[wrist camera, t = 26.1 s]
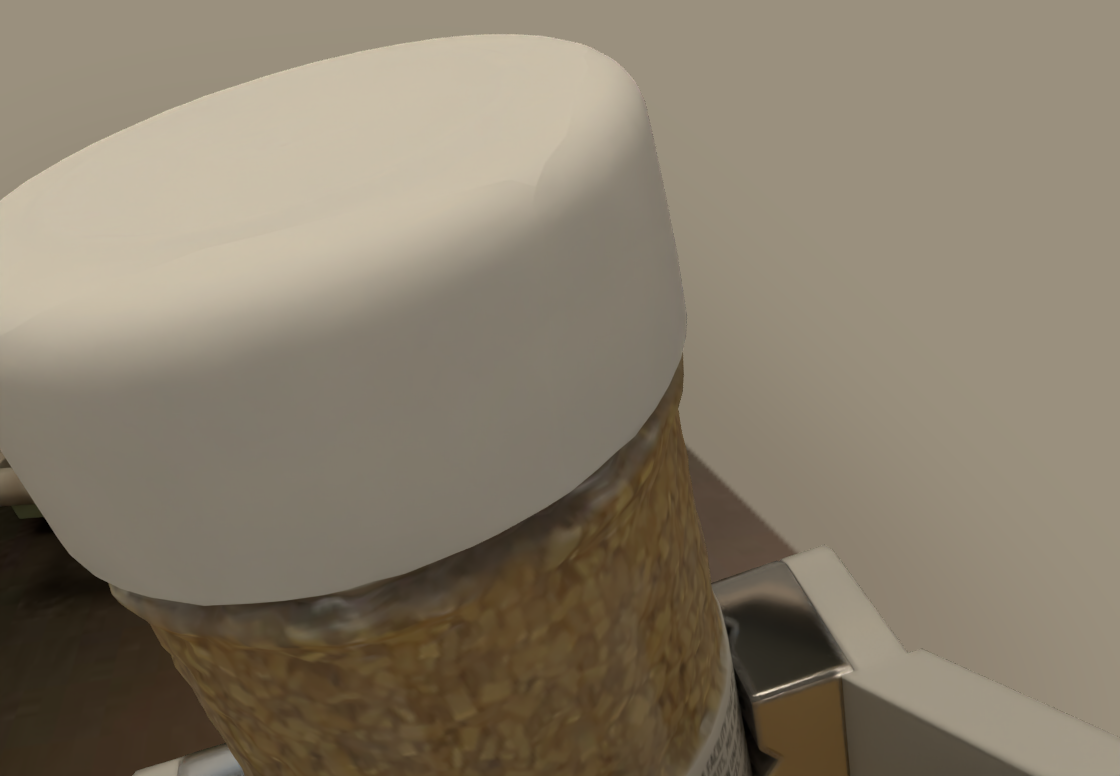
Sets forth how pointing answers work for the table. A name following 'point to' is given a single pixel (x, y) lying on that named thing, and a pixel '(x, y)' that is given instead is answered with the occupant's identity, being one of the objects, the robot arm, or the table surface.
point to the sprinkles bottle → (383, 413)
